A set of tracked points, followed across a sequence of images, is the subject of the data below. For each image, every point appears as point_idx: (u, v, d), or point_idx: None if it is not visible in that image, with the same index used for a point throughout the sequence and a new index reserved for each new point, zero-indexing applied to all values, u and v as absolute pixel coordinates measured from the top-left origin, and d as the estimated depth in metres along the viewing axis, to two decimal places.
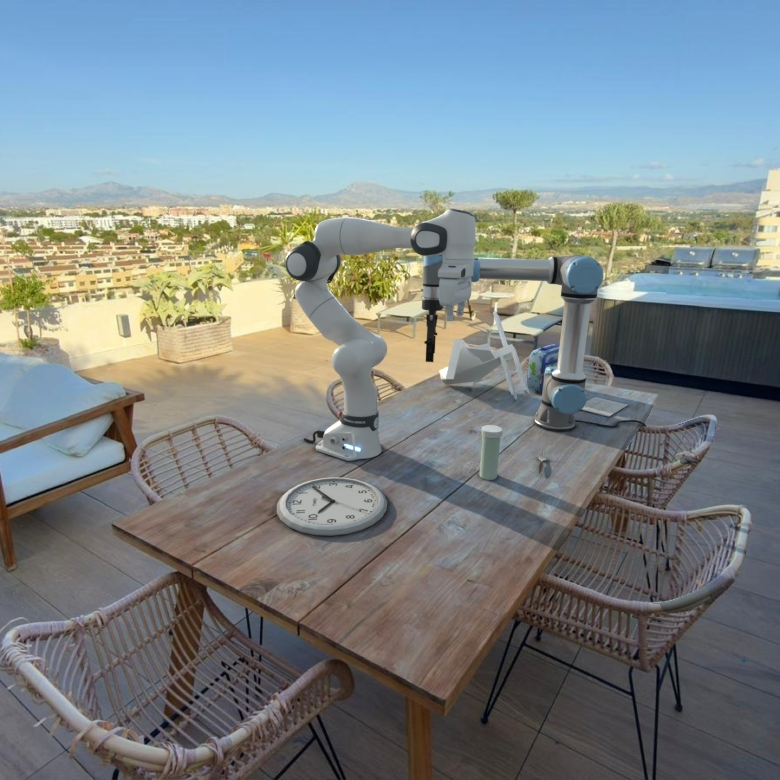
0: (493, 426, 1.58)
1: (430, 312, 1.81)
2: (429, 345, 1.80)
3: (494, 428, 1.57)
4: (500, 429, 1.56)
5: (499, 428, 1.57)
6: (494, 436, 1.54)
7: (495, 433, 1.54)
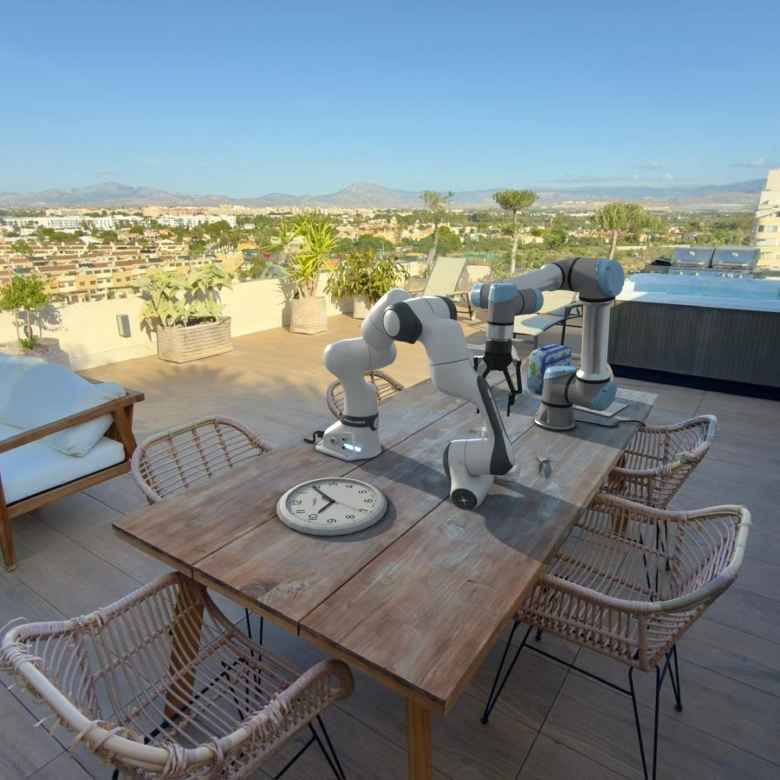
0: None
1: None
2: None
3: None
4: None
5: None
6: None
7: None
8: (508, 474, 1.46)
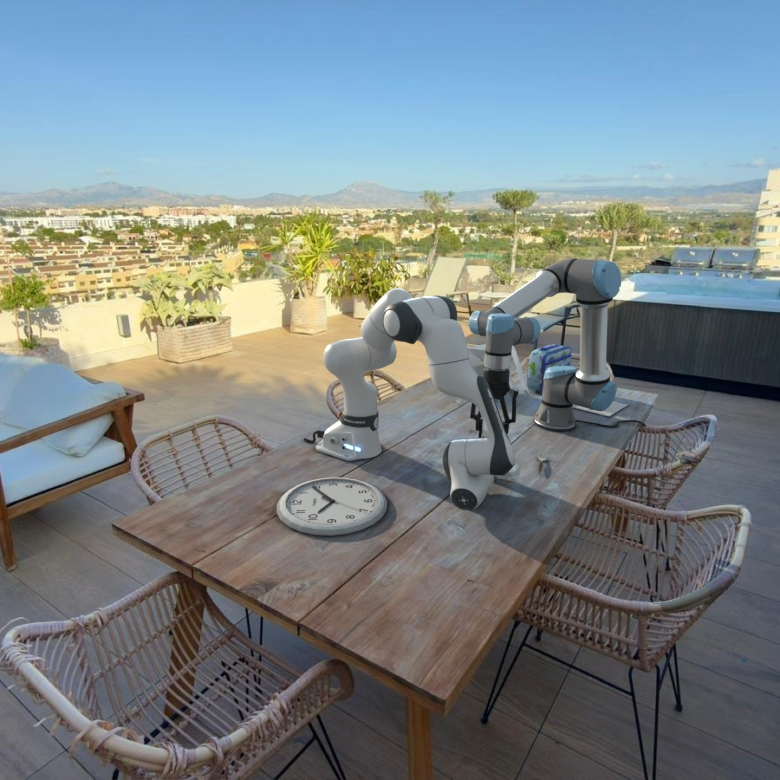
0: None
1: None
2: (476, 421, 1.57)
3: None
4: None
5: None
6: None
7: None
8: (508, 474, 1.46)
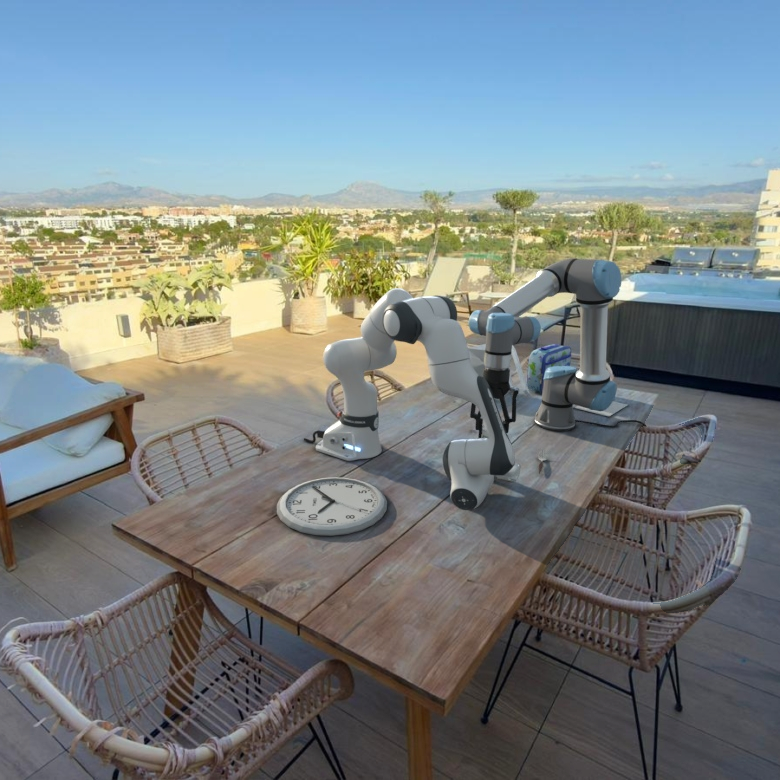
0: (485, 428, 1.56)
1: None
2: (476, 420, 1.57)
3: None
4: None
5: None
6: None
7: None
8: (508, 474, 1.46)
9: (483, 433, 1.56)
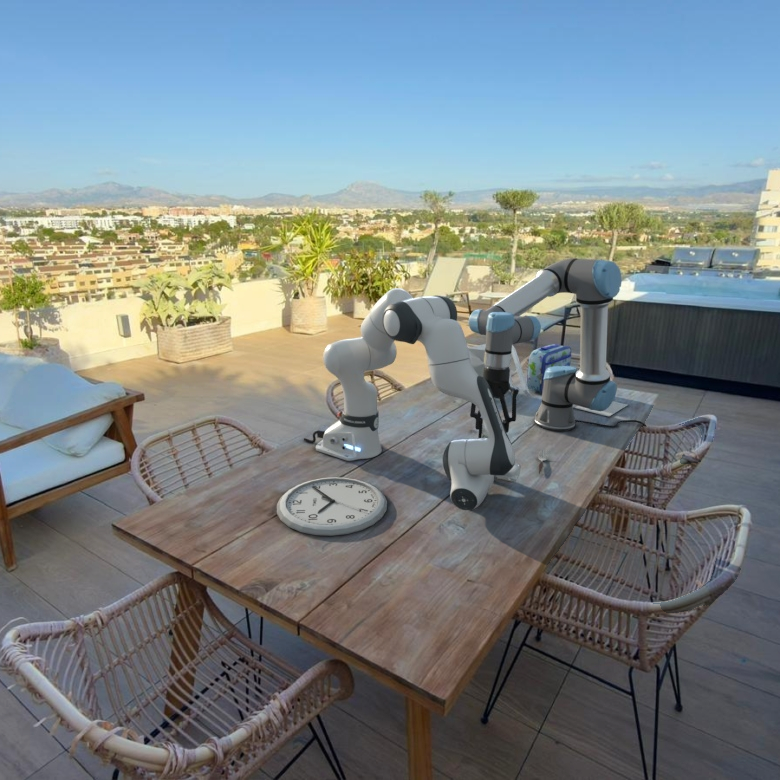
0: None
1: None
2: (476, 419, 1.57)
3: None
4: None
5: None
6: None
7: (482, 427, 1.57)
8: (508, 474, 1.46)
9: None
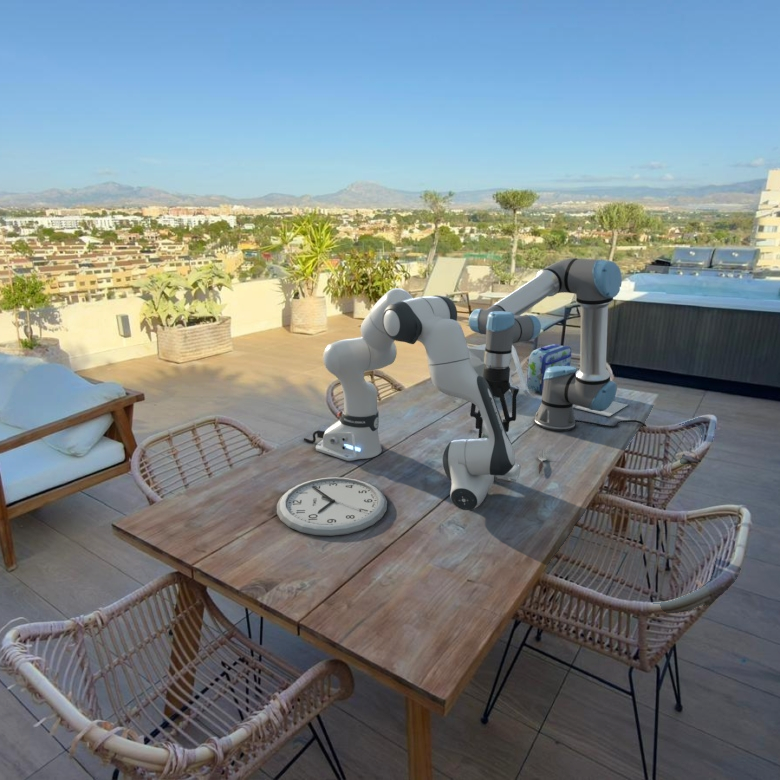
0: None
1: None
2: (476, 419, 1.57)
3: None
4: None
5: None
6: None
7: None
8: (508, 474, 1.46)
9: None
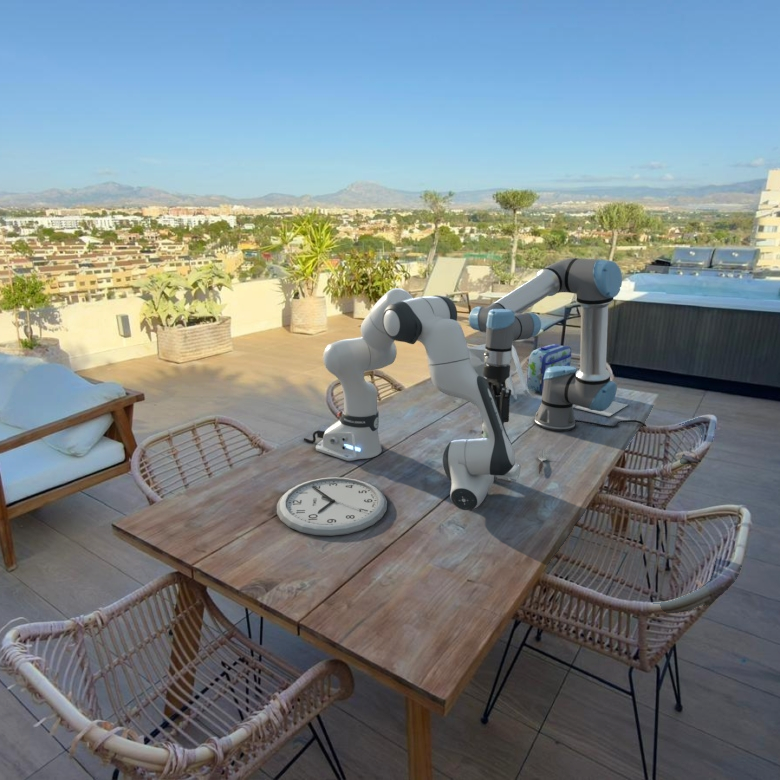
0: None
1: (501, 381, 1.48)
2: None
3: None
4: None
5: None
6: None
7: None
8: (508, 474, 1.46)
9: (484, 430, 1.55)
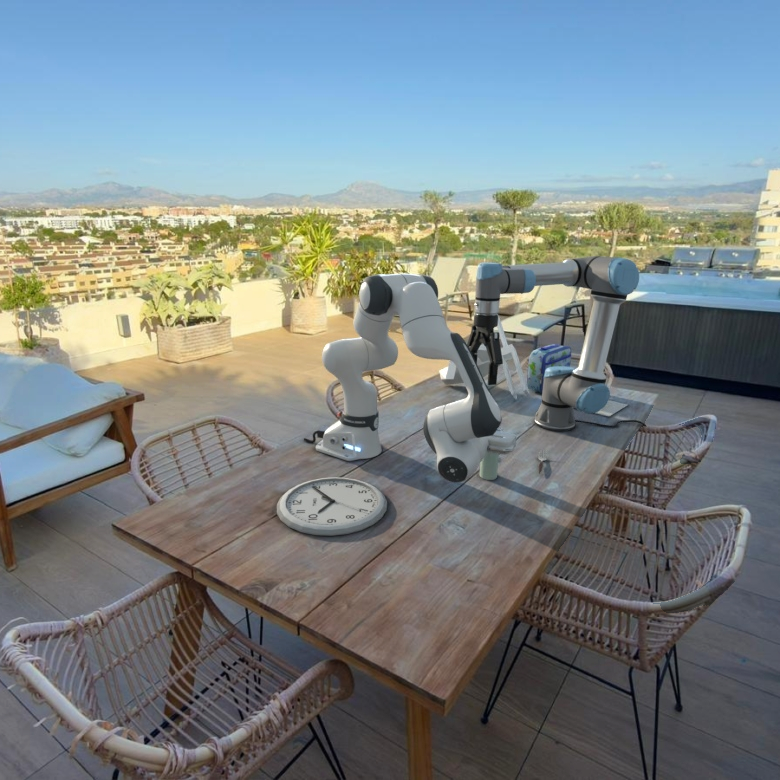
0: None
1: (489, 329, 1.61)
2: (495, 366, 1.60)
3: None
4: None
5: None
6: None
7: None
8: (503, 444, 1.31)
9: None
